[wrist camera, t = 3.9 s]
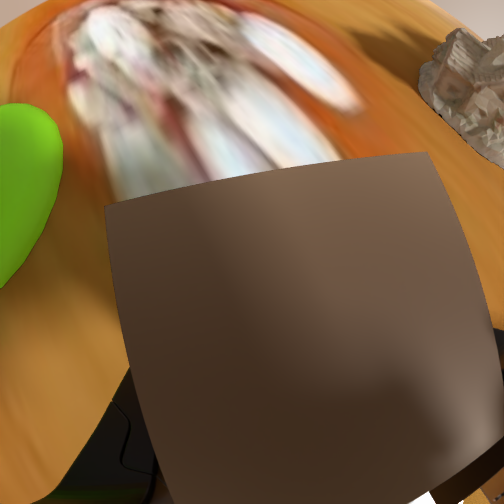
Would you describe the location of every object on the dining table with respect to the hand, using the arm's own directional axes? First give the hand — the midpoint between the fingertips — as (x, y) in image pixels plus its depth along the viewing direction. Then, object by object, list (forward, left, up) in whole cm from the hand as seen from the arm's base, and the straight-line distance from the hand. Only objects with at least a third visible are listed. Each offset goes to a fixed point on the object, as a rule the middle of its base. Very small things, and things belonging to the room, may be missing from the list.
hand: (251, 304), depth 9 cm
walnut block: (-1, -1, -7) cm, 7 cm away
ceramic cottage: (+27, -17, -7) cm, 32 cm away
